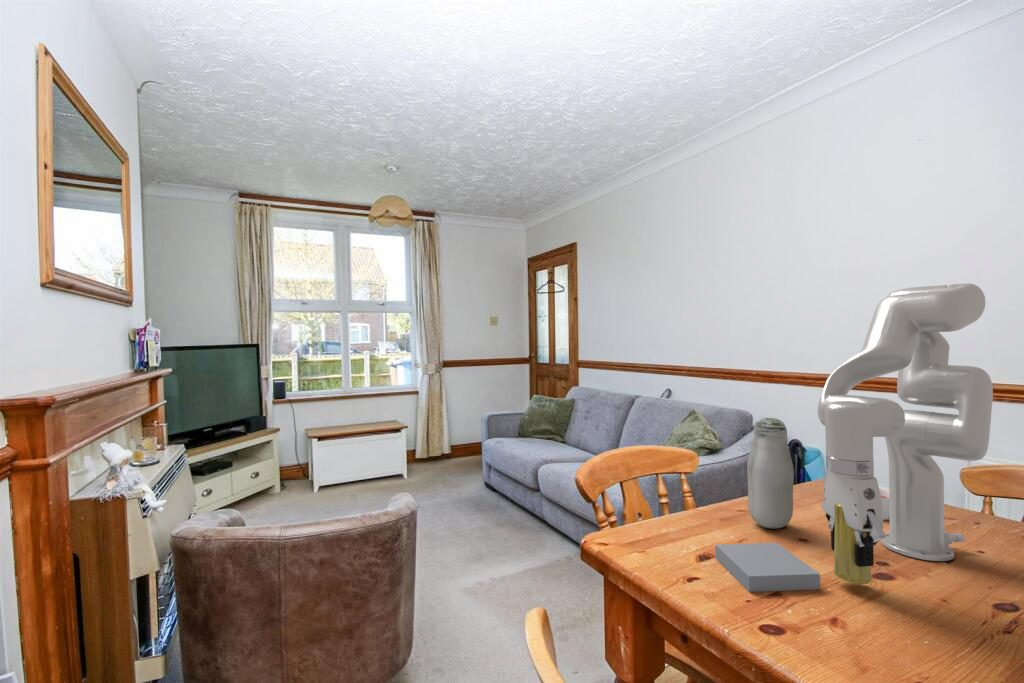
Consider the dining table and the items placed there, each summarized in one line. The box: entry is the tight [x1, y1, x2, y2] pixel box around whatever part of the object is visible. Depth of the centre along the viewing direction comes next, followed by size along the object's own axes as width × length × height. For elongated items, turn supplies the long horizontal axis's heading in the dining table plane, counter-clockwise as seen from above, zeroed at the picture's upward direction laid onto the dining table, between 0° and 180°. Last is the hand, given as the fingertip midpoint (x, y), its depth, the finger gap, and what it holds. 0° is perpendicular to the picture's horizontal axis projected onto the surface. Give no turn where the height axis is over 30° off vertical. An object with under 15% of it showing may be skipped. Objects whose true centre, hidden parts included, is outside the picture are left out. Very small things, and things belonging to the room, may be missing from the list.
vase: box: [833, 503, 873, 585], centre depth 92 cm, size 6×6×14 cm
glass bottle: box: [746, 417, 795, 529], centre depth 122 cm, size 10×10×28 cm
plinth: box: [714, 542, 821, 593], centre depth 98 cm, size 14×14×3 cm
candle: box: [879, 488, 890, 521], centre depth 128 cm, size 9×9×6 cm
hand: (851, 556), depth 92 cm, fingers closed on vase, 5 cm apart
